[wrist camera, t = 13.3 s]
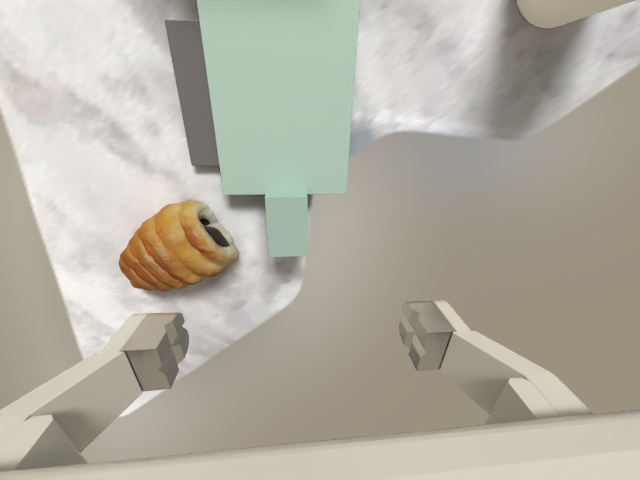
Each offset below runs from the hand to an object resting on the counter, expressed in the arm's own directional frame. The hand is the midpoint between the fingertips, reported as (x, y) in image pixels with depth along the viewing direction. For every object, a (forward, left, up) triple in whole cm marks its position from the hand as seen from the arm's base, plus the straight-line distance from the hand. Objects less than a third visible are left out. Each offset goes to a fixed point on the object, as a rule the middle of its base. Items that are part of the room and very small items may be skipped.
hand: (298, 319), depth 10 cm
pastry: (+9, +4, -14) cm, 18 cm away
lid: (0, -5, -13) cm, 14 cm away
